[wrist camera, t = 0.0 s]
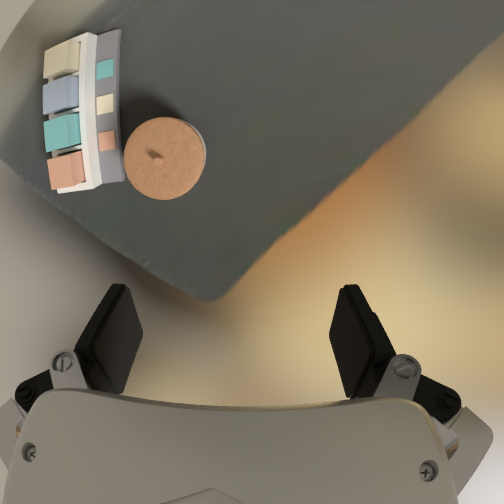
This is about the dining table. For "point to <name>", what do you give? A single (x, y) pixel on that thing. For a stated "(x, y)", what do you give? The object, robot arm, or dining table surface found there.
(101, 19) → the dining table surface
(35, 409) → the robot arm
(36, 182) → the dining table surface
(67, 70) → the key
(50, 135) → the key
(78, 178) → the key
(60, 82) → the key
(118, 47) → the keypad
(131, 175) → the lidded jar
